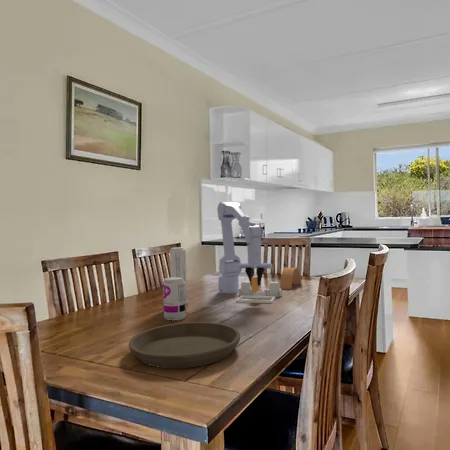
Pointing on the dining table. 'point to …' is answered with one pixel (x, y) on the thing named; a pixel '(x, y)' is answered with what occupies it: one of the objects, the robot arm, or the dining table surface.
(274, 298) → the tray
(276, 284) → the block
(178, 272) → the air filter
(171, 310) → the supplement can
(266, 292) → the fuse block
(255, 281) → the block
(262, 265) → the robot arm
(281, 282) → the arch
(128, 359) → the dining table surface
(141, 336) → the plant saucer
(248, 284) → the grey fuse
